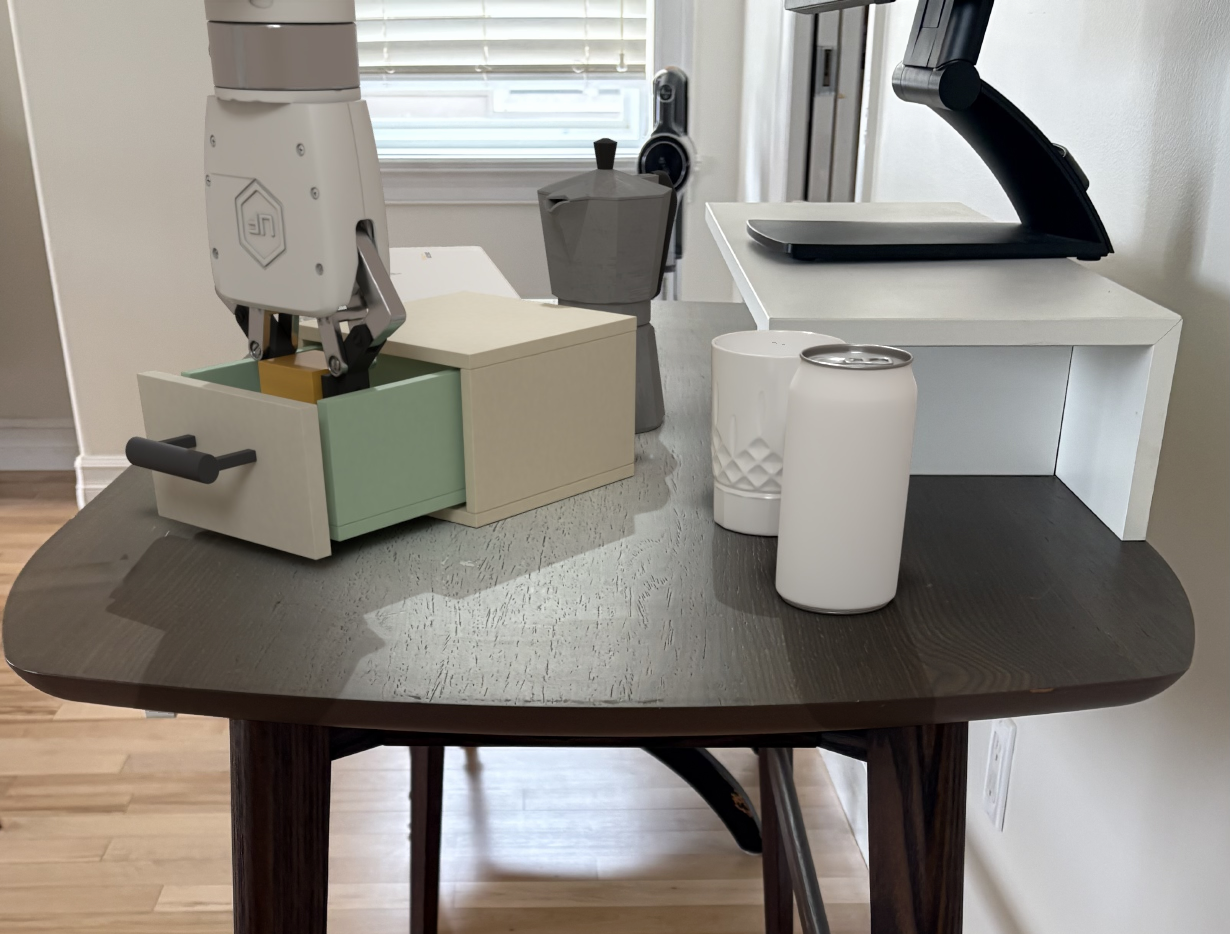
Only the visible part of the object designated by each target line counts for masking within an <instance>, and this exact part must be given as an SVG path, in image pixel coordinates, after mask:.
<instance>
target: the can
mask: <svg viewBox="0 0 1230 934" xmlns="http://www.w3.org/2000/svg"><path fill="white" fill-rule="evenodd" d="M799 356H800V358H801V362H800V365H799V367H798V369H797V371H796V373H795V375H794V377H793V379H792V381H791V384H790V387H789V394H788V405H787V418H786V432H785V446H784V460H783V475H782V489H781V504H780V519H779V534H778V536H777V551H776V568H775V590H776V592H778V594H779V595H780V597H781V599H782V600H783V601H784V602H785V603H786V604H788V605H789V606H790V607H793V608H796V609H799V610H802V611H805V612H809V613H815V614H822V615H831V616H852V615H853V616H854V615H863V614H867V613H872V612H876V611H879V610H882V609H883V608H886V606H887V605H889V604H890V601H892V600H893V599H894V598H895V596H896V594H897V589H898V579H899V572H900V563H901V556H902V555H901V554H902V546H903V540H904V539H903V537H904V529H905V520H906V512H907V511H906V510H907V502H908V493H909V485H910V477H911V476H910V475H911V466H912V457H913V449H914V439H915V430H916V422H917V421H916V420H917V410H918V400H919V399H918V398H919V390H918V389H919V388H918V385H917V382H916V379H915V376H914V373H913V368H912V363H913V362H914V359H915V357H914V354H912V353H910V352H909V351H906V350H903V349H900V348H896V347H892V346H885V345H877V344H868V343H867V344H866V343H865V344H864V343H848V344H828V345H819V346H814V347H809V348H806V349H804V350H802V351H801V352H800V354H799Z"/></svg>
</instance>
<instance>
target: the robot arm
mask: <svg viewBox="0 0 1230 934" xmlns="http://www.w3.org/2000/svg"><path fill="white" fill-rule="evenodd" d="M203 2H204V3H203V4H204V11H205V12H204V13H205V20H207V21H206V28H207V38H208V55H209V58H210V62H211V63H210V64H211V72H212V81H213V85H214V86H213V89H214V90H213V91H214V94H209V95H206V106H205V115H204V116H205V117H204V140H203V141H204V143H203V144H204V145H203V147H204V148H203V151H204V153H203V157H204V158H203V159H204V160H203V161H204V165H203V166H204V168H203V169H204V170H203V171H204V192H205V193H204V194H205V212H206V223H207V224H206V225H207V236H208V247H209V257H210V267H211V273H212V274H211V275H212V279H213V284H214V291H215V294H216V295H217V297H218V298H219V299H220V301H221V302H222V303H223V304H224V305H225V307H226V308H227V309H228V310H229V311H230V313H231V314H232V315H234V318H235V321H236V323H237V324H238V326H239V327H240V330H241V331H242V332H243V334H244V335H245V337H246V339H247V340H248V341H247V348H248V353H249V356H250V358H253V359H254V360H255V361H262V360H267V359H272V358H277V357H282V356H287V355H292V354H295V353H296V352H297V349H298V335H299V322H300V317H305V318H311V319H312V318H313V319H317V323H318V328H319V332H320V337H321V341H322V346H323V350H324V354H325V359H326V363H327V367H328V370H329V372H330V373H329V374H324V375H321V385H322V396H323V399H325V398H330V397H334V396H338V395H343V394H347V393H351V392H355V391H360V390H364V389H368V388H370V383H369V370H371V369H374V368H375V367H376V364H377V355H378V353H379V352H380V350H381V349H382V347H383V346H384V344H385V343H386V341H387V338H388V337H390V336H391V335H392V334H393V333H394V332H395V331H396V330H397V329H398V328H399V327H400V326H401V325H402V324H403V323H404V322H405V321H406V311H405V308H404V306H403V304H402V302H401V300H400V298H399V296H398V294H397V292H396V290H395V287H394V285H393V283H392V281H391V279H390V253H389V247H390V243H389V229H388V219H387V210H386V202H385V201H386V200H385V194H384V193H385V192H384V186H383V179H382V171H381V167H380V161H379V155H378V149H377V144H376V139H375V134H374V133H375V132H374V129H373V124H372V120H371V115H370V111H369V107H368V102H367V99H362V92H361V73H360V60H359V58H360V57H359V43H358V31H357V29H358V28H357V24H356V23H355V22H356V21H357V18H356V16H357V15H356V3H355V2H356V1H355V0H203ZM341 307H345V308H343V309H340V308H341ZM367 309H368V313H367ZM275 315H277V318H276V317H275ZM346 321H347V322H348V327H349V331H350V332H349V334H348V336H347V337H346V339H345V340H344V341H343V337H342V332H341V328H340V322H346ZM258 368H259V367H258ZM259 377H260V376H259ZM260 386H261V385H260Z"/></svg>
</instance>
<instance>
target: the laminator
mask: <svg viewBox="0 0 1230 934" xmlns="http://www.w3.org/2000/svg"><path fill="white" fill-rule="evenodd" d="M389 253H390V279H391V281H392V283H393V285H394V287H395V290H396V292H397V294H398V296H399V298H400V300H401V302H402V303H403V302H409V301H414V300H419V299H425V298H430V297H435V296H440V295H446V294H451V293H456V292H462V291H469V292H476V293H482V294H489V295H496V296H502V297H509V298H516V299H522V298H521V296H520V295H519V293H518V292H517V291H516V290H515V288H514V287H513V285H512V284H511V283H510V282H509V281H508V279H507V278H506V277H505V275H504V274H503V273H502V271H501V270H500V269H499V268H498V267H497V265H496V264H495V263H494V261H493V260H492V259H491V258H490V256H489V255H488V253H486V251H485V249H484V248H483V247H482V246H479V245H451V246H450V245H449V246H448V245H446V246H398V247H397V246H396V247H395V246H394V247H392V246H391V247H390V246H389Z"/></svg>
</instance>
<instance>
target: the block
mask: <svg viewBox="0 0 1230 934" xmlns="http://www.w3.org/2000/svg"><path fill="white" fill-rule="evenodd" d="M258 367H259V376H260V385H261V393H263V394H268V395H273V396H277V397H282V398H287V399H291V400H296V401H301V402H306V403H310V404H315V405H317V400H321V399H323V396H322V385H321V375H324V374H329V373H330V372H329V370H328V367H327V363H326V359H325V354H324V352H323V351H317V350H312V351H307V352H302V353H297V354H292V355H287V356H282V357H277V358H272V359H267V360H262V361H258ZM369 383H370V382H369ZM317 410H318V407H317ZM318 420H319V417H318ZM319 430H320V428H319ZM320 441H321V438H320ZM321 451H322V449H321Z"/></svg>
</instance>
